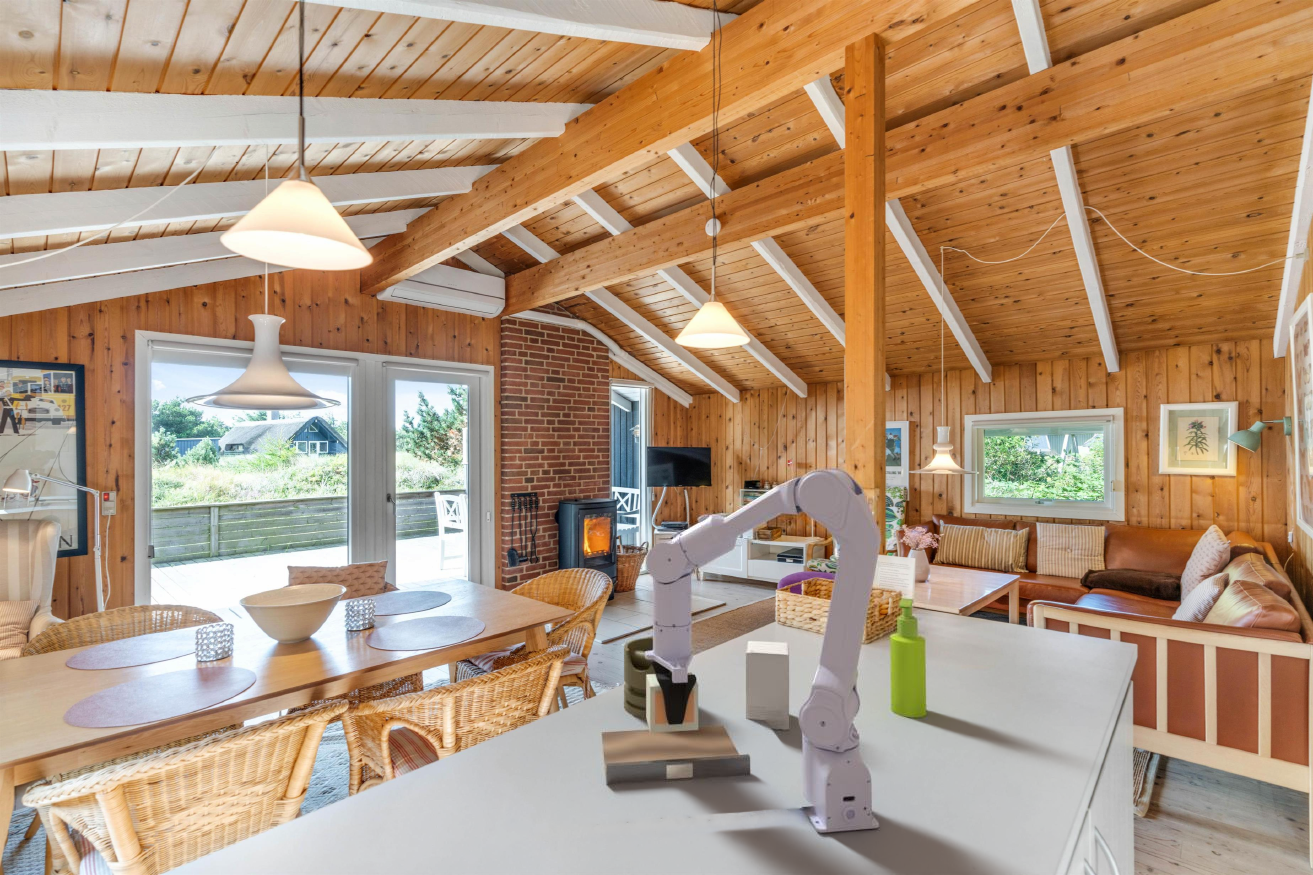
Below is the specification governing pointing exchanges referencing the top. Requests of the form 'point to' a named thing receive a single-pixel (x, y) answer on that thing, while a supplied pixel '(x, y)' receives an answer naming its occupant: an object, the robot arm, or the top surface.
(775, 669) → the supplement box
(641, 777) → the rail
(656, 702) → the carton
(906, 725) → the top surface
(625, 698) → the piston
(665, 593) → the robot arm
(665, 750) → the shelf board
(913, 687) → the soap dispenser
